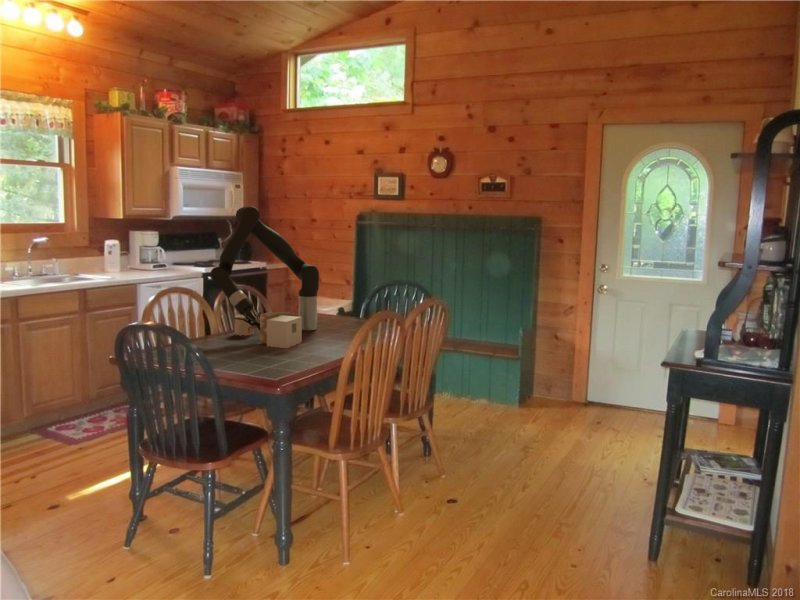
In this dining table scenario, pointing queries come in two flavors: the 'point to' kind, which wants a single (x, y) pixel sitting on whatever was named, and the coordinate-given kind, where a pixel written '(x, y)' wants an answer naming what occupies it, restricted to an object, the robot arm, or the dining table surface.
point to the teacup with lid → (242, 326)
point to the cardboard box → (284, 331)
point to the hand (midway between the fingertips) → (263, 330)
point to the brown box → (263, 325)
